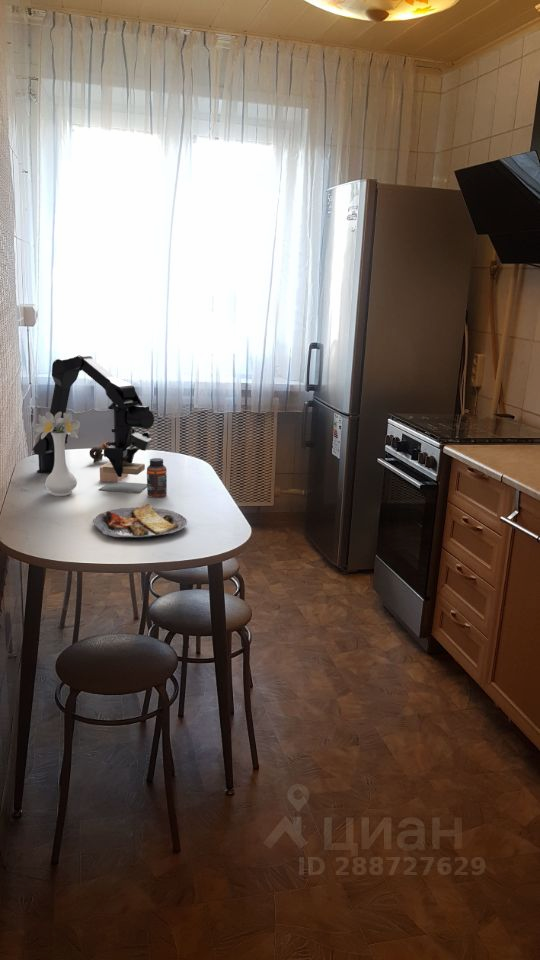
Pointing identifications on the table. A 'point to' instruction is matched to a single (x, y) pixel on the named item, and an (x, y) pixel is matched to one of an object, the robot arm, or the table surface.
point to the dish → (110, 475)
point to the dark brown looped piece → (99, 451)
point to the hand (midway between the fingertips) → (124, 473)
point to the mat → (124, 487)
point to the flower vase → (59, 451)
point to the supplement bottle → (156, 478)
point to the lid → (126, 468)
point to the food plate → (139, 521)
